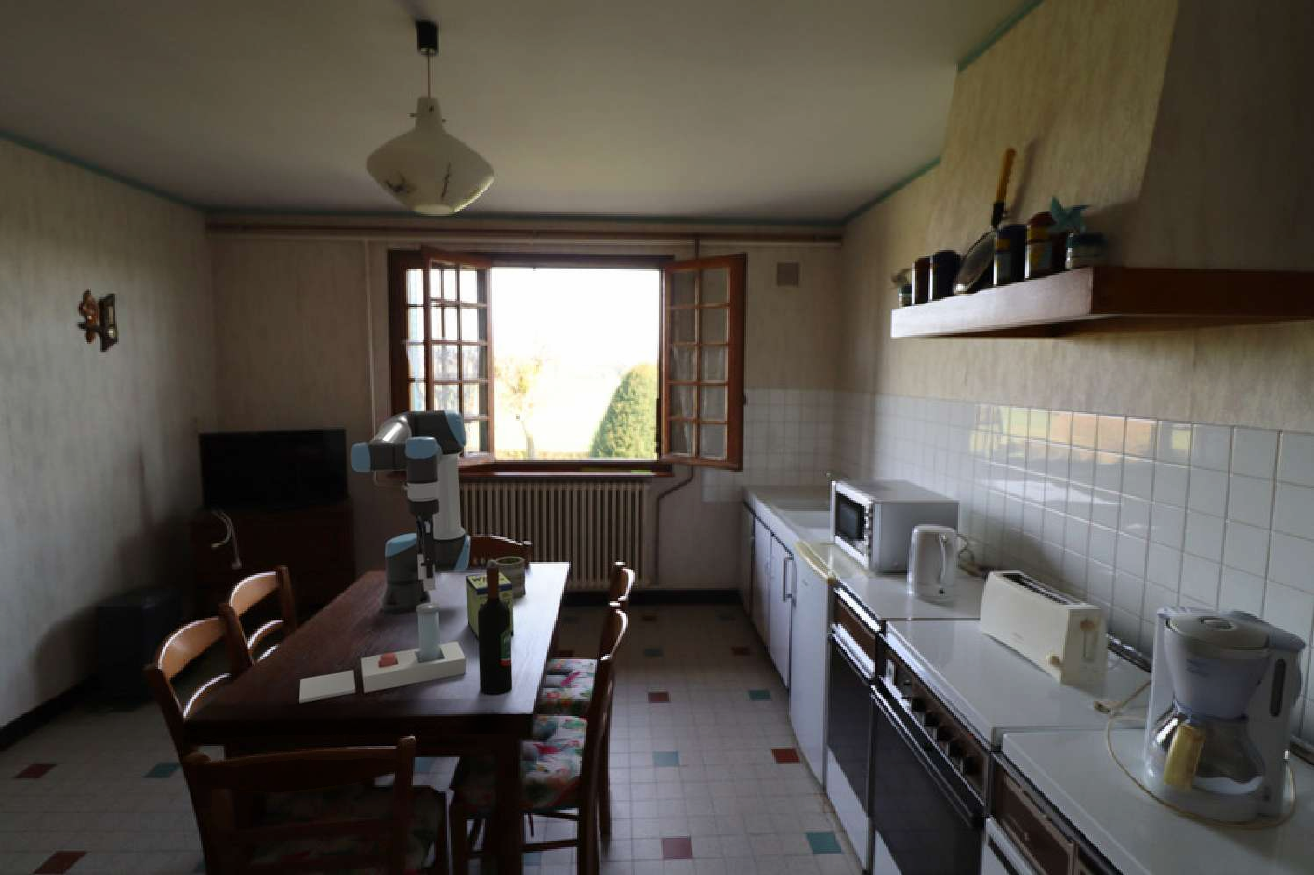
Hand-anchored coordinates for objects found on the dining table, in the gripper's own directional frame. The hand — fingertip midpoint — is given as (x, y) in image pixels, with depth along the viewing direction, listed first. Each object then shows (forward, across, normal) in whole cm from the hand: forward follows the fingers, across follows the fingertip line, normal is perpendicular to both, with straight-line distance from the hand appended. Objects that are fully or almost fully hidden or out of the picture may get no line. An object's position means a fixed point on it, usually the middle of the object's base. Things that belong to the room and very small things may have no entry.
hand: (426, 584), depth 177 cm
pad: (+23, -1, -24) cm, 33 cm away
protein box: (+23, -21, +20) cm, 37 cm away
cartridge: (+23, 0, 0) cm, 23 cm away
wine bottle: (+23, +18, +13) cm, 32 cm away
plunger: (+22, 0, -10) cm, 24 cm away
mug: (+23, -53, +32) cm, 66 cm away
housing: (+23, 0, -4) cm, 23 cm away
